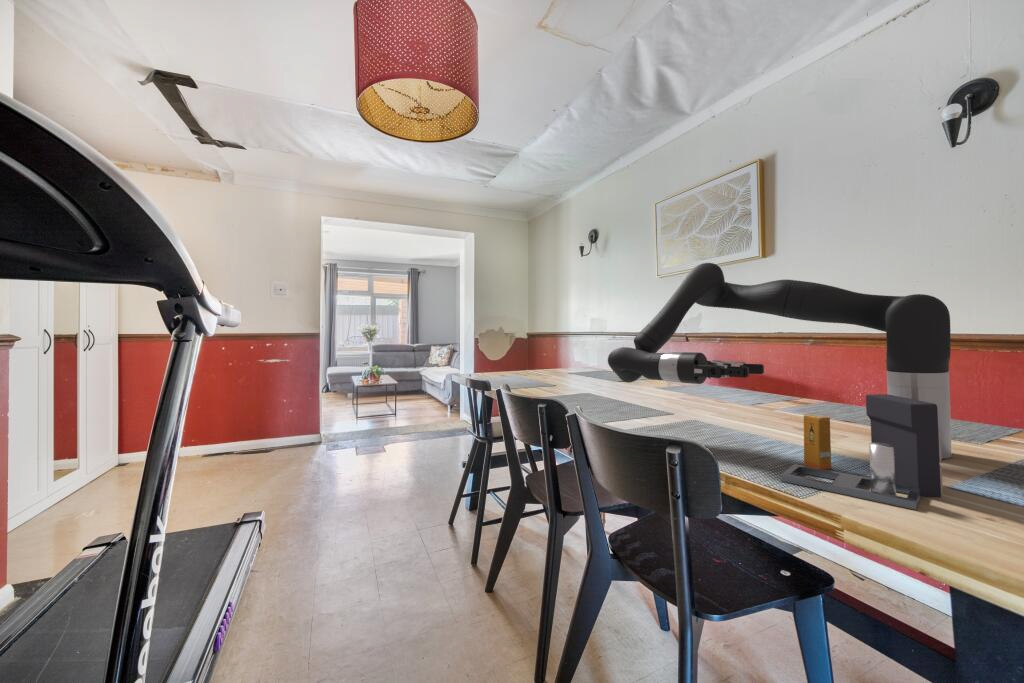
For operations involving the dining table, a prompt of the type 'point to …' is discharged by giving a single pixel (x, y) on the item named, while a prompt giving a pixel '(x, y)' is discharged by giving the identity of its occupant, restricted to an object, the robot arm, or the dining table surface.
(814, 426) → the supplement box
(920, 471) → the black coffee maker
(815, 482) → the hole plate
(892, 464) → the steel pin
